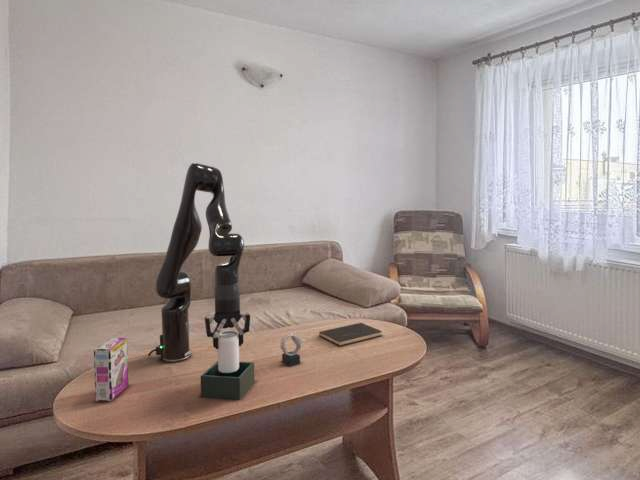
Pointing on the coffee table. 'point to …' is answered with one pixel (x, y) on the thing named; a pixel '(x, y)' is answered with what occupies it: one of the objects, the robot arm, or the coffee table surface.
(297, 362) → the watch
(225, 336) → the can
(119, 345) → the candy bar box
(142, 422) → the coffee table surface
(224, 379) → the bin
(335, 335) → the hardcover book
